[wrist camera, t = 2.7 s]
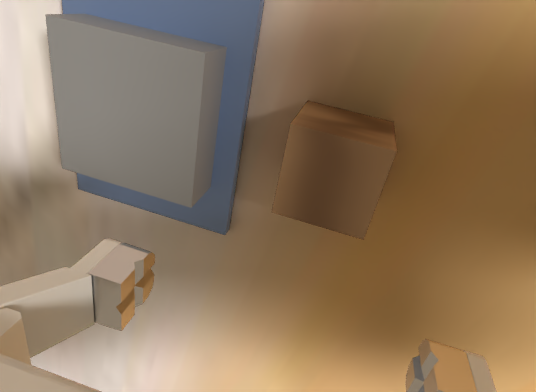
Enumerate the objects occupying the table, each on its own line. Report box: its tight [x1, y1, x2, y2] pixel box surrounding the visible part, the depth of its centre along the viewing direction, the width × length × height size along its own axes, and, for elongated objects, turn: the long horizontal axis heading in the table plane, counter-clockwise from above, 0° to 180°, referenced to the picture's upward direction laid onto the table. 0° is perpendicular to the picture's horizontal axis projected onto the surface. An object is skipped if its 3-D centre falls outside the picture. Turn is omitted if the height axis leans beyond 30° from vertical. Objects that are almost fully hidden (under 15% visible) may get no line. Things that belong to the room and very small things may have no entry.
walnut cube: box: [272, 101, 397, 240], centre depth 20 cm, size 5×5×5 cm
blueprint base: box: [46, 0, 264, 235], centre depth 23 cm, size 12×16×4 cm
